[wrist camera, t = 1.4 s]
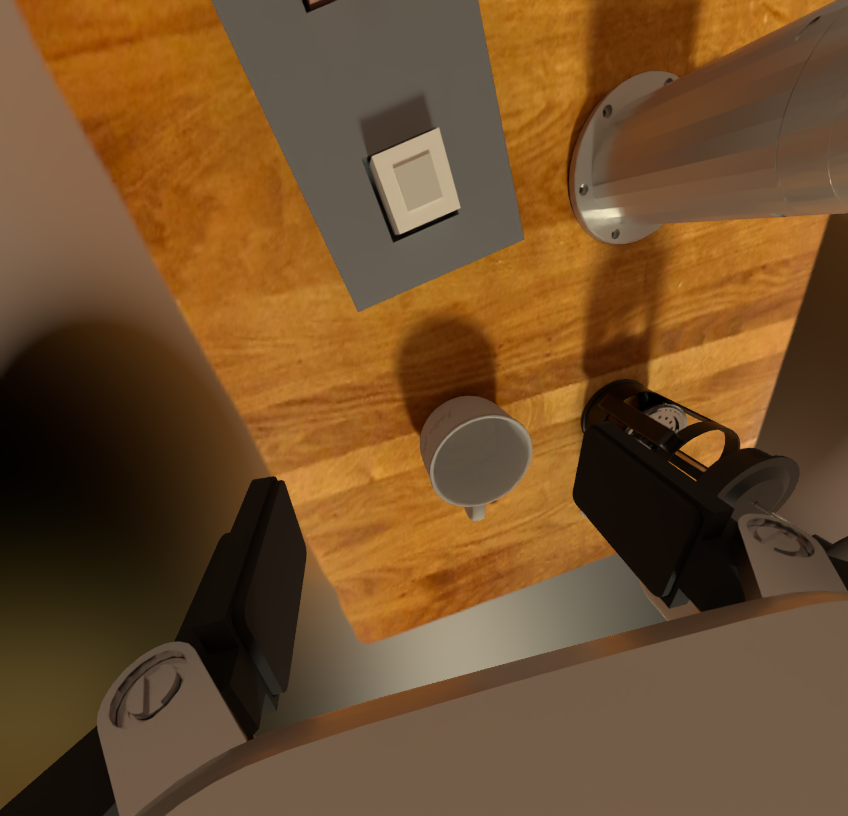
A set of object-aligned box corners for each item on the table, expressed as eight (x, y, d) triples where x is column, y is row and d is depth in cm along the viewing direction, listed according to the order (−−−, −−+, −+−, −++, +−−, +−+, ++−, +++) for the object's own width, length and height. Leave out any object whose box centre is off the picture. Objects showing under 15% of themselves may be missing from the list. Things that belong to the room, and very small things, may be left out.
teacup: (421, 381, 36) (439, 415, 29) (512, 387, 38) (549, 419, 31) (406, 484, 42) (418, 534, 35) (485, 483, 44) (512, 528, 37)
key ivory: (428, 140, 22) (439, 126, 20) (448, 211, 25) (461, 207, 22) (368, 166, 22) (372, 155, 20) (394, 235, 25) (400, 234, 22)
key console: (392, -193, 19) (409, -356, 14) (494, 239, 31) (524, 239, 26) (170, -100, 19) (103, -229, 14) (356, 300, 31) (358, 311, 25)
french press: (661, 404, 44) (922, 539, 24) (609, 455, 47) (809, 618, 26) (613, 357, 39) (891, 477, 19) (559, 417, 42) (756, 580, 22)
